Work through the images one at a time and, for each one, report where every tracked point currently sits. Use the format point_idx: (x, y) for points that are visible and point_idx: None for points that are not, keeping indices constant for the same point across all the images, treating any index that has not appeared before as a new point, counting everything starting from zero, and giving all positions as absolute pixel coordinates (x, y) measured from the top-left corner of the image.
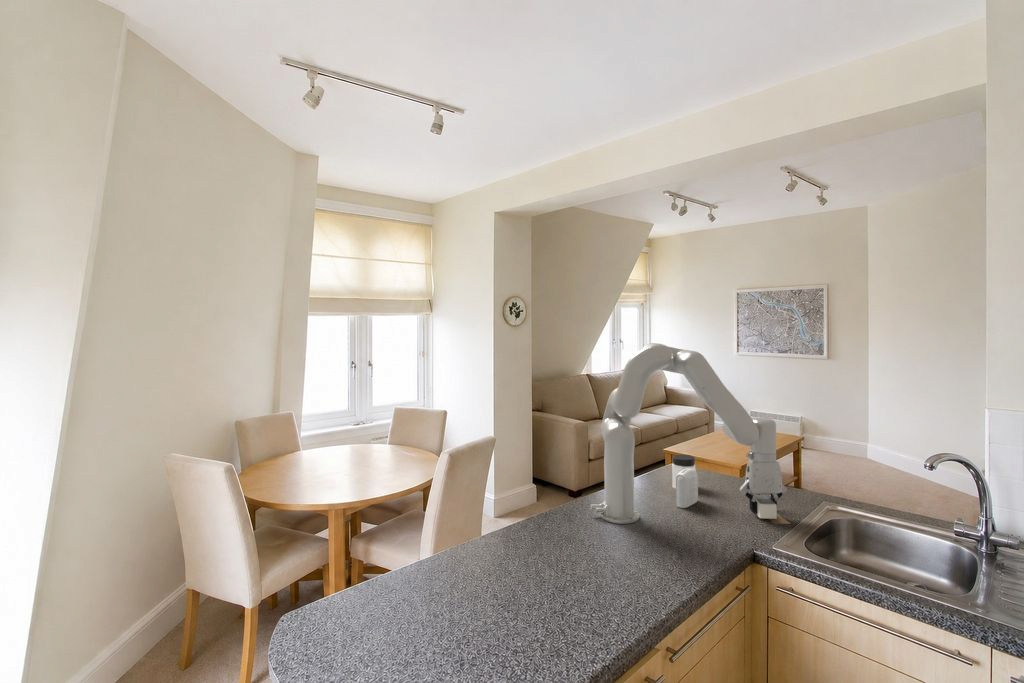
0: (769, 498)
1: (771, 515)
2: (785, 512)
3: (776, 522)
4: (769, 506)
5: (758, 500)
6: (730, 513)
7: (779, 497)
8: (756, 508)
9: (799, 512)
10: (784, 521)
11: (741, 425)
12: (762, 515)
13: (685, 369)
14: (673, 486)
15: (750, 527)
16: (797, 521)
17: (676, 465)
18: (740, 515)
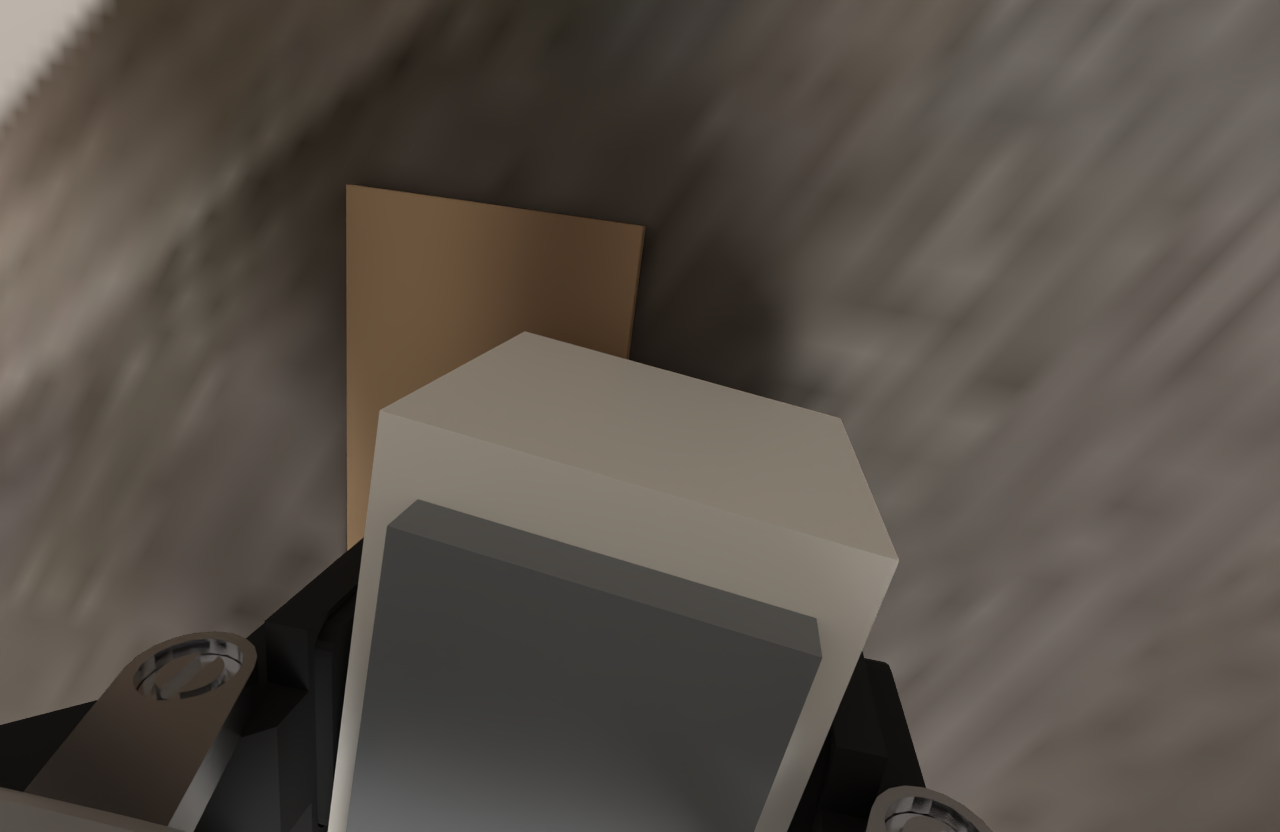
0: (352, 794)
1: (607, 372)
2: (194, 623)
3: (574, 279)
4: (606, 454)
5: (764, 789)
6: (1062, 822)
7: (55, 720)
8: None
9: (11, 573)
10: (408, 289)
11: None
12: (795, 424)
13: None
14: None
15: (1240, 198)
16: (187, 286)
17: None
18: (957, 716)
